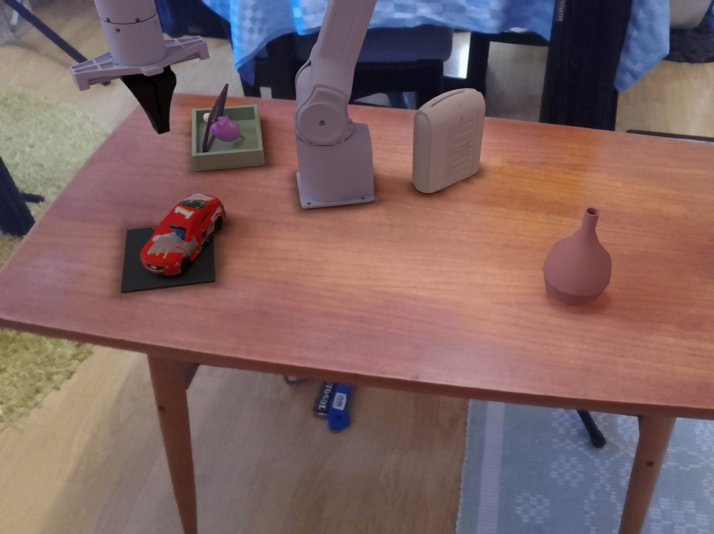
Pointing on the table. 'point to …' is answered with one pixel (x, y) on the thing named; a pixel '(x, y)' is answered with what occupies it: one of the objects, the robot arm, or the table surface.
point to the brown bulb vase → (578, 265)
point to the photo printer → (447, 139)
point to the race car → (182, 234)
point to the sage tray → (229, 152)
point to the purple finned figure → (220, 124)
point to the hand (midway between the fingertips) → (161, 129)
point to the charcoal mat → (141, 279)
